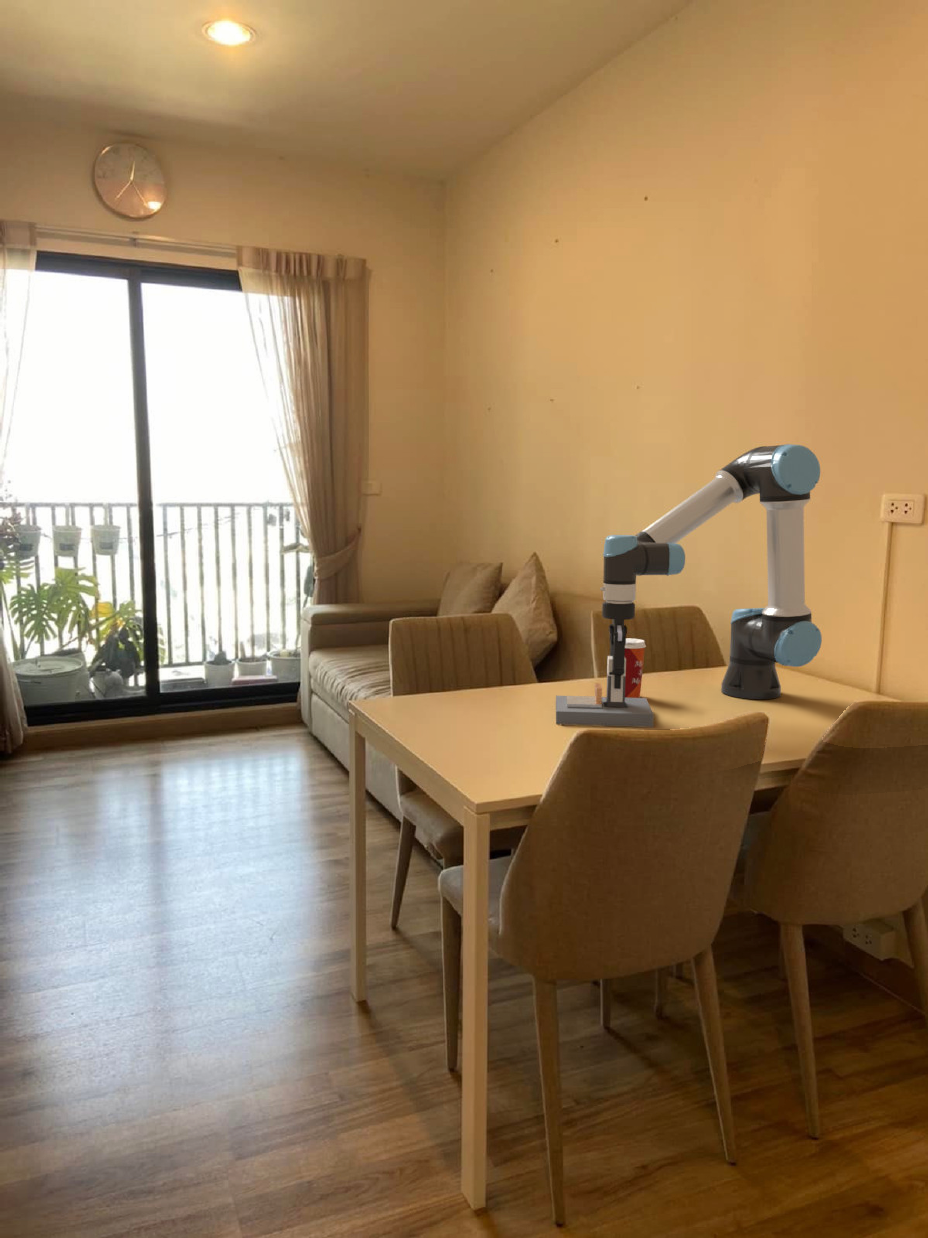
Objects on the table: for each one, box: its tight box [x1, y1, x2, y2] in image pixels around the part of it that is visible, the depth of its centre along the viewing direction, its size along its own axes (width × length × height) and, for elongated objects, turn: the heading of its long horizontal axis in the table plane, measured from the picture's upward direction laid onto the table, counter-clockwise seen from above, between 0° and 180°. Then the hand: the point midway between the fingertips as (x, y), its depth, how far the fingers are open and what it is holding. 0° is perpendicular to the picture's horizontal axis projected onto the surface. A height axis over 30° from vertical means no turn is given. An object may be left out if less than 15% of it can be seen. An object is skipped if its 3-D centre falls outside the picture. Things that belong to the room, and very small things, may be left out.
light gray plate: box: [565, 682, 603, 708], centre depth 212 cm, size 8×8×4 cm
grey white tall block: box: [605, 655, 626, 708], centre depth 211 cm, size 4×4×14 cm
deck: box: [555, 695, 654, 728], centre depth 212 cm, size 22×16×3 cm
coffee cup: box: [625, 637, 647, 698], centre depth 232 cm, size 8×8×15 cm
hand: (615, 698), depth 211 cm, fingers open, 4 cm apart
